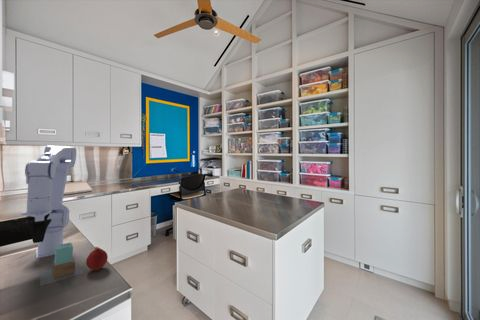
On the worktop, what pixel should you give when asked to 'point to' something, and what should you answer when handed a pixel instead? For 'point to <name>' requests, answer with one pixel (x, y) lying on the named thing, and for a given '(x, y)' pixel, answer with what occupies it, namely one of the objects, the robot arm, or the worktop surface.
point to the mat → (48, 278)
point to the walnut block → (63, 268)
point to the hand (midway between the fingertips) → (37, 239)
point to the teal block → (63, 253)
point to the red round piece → (96, 259)
